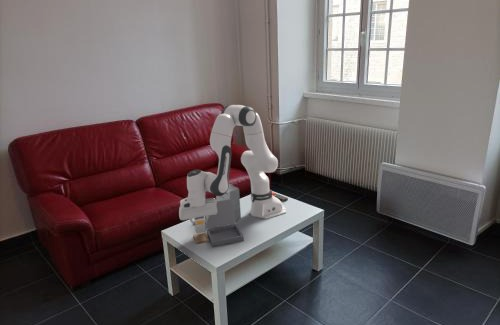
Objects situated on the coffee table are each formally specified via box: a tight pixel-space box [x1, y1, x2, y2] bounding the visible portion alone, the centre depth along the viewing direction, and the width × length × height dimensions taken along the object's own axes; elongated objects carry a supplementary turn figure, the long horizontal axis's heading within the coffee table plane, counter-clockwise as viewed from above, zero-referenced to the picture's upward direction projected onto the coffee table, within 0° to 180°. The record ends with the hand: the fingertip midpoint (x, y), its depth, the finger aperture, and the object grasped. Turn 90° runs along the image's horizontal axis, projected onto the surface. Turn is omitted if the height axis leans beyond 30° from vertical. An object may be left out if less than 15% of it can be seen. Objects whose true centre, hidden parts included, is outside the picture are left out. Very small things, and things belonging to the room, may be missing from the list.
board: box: [193, 231, 210, 245], centre depth 198 cm, size 7×9×1 cm
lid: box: [204, 199, 237, 230], centre depth 204 cm, size 17×14×1 cm
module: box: [193, 216, 207, 234], centre depth 195 cm, size 5×6×8 cm
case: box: [206, 224, 245, 248], centre depth 197 cm, size 17×14×3 cm
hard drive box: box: [215, 183, 242, 221], centre depth 220 cm, size 16×8×20 cm, turn 37°
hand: (199, 224), depth 195 cm, fingers closed on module, 5 cm apart
